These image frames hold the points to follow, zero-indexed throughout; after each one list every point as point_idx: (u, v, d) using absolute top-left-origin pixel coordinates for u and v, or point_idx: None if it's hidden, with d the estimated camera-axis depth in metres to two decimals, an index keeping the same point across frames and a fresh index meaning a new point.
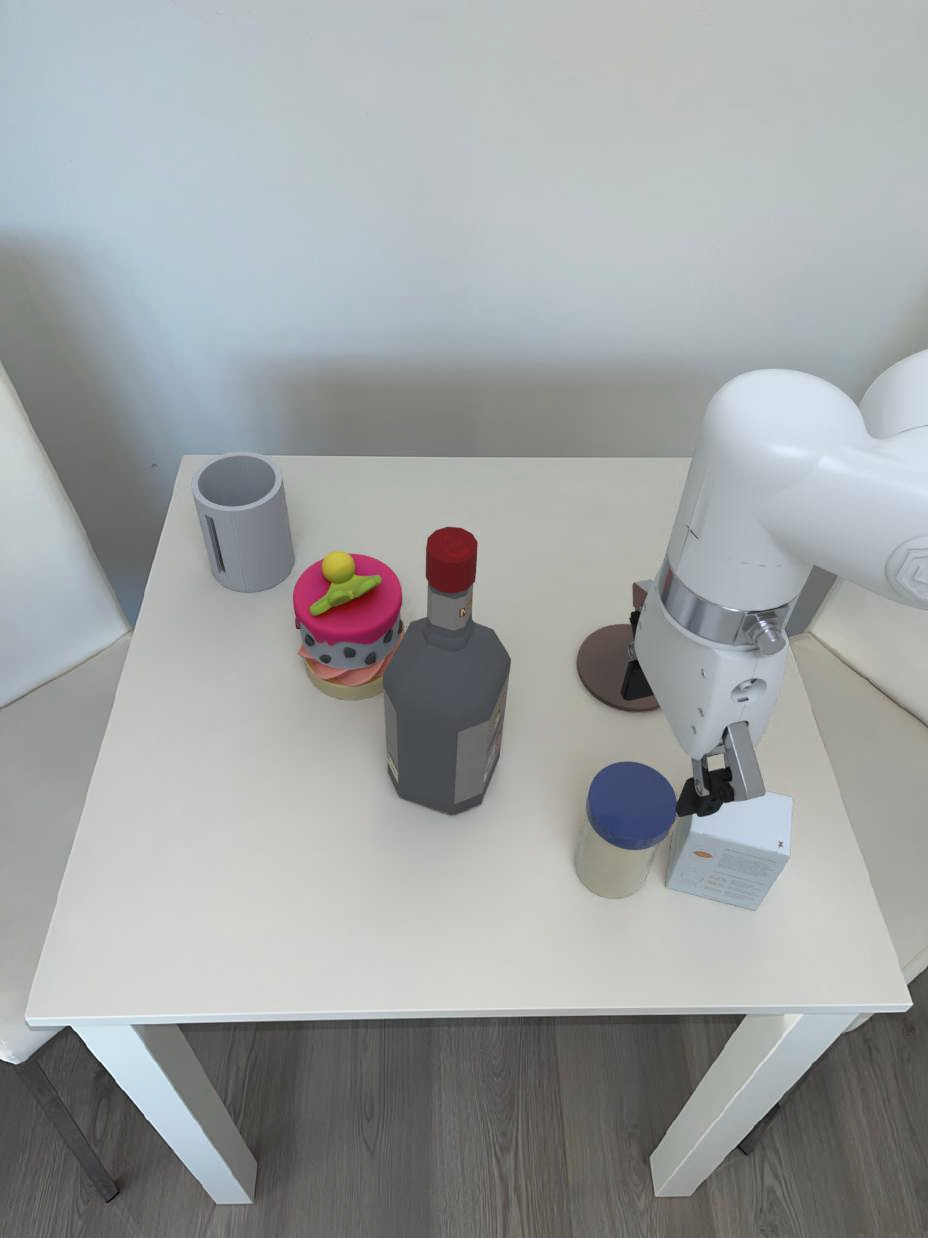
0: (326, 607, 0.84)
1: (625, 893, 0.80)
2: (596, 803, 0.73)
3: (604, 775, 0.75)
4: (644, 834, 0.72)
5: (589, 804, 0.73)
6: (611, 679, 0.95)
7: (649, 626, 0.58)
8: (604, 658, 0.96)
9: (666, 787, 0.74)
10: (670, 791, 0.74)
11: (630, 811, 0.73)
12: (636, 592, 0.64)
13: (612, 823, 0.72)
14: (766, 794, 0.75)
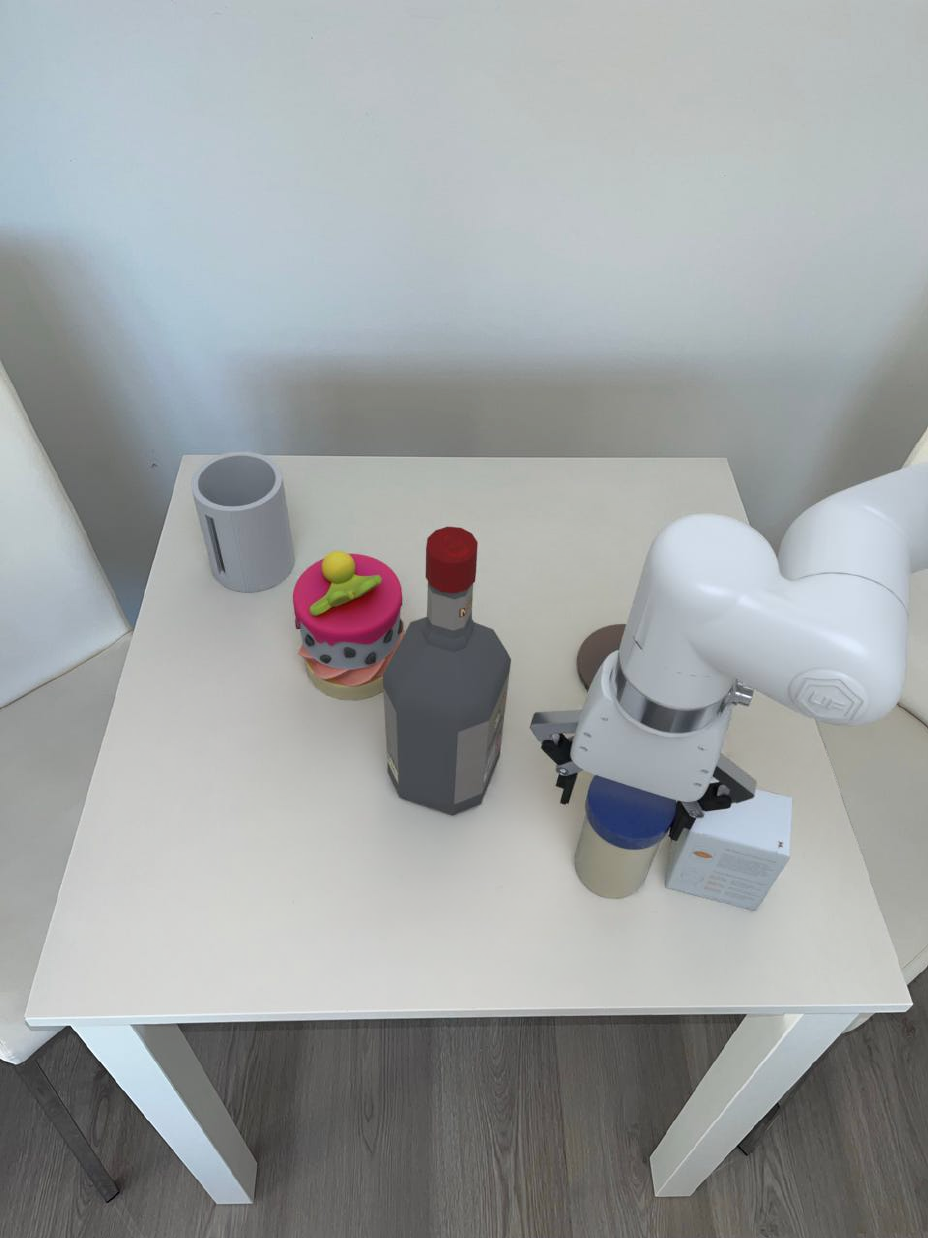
0: (326, 607, 0.84)
1: (625, 893, 0.80)
2: (595, 803, 0.73)
3: None
4: (643, 834, 0.72)
5: (588, 804, 0.73)
6: None
7: (604, 745, 0.65)
8: (604, 658, 0.96)
9: None
10: None
11: (629, 811, 0.73)
12: (538, 730, 0.70)
13: (611, 823, 0.72)
14: (766, 794, 0.75)
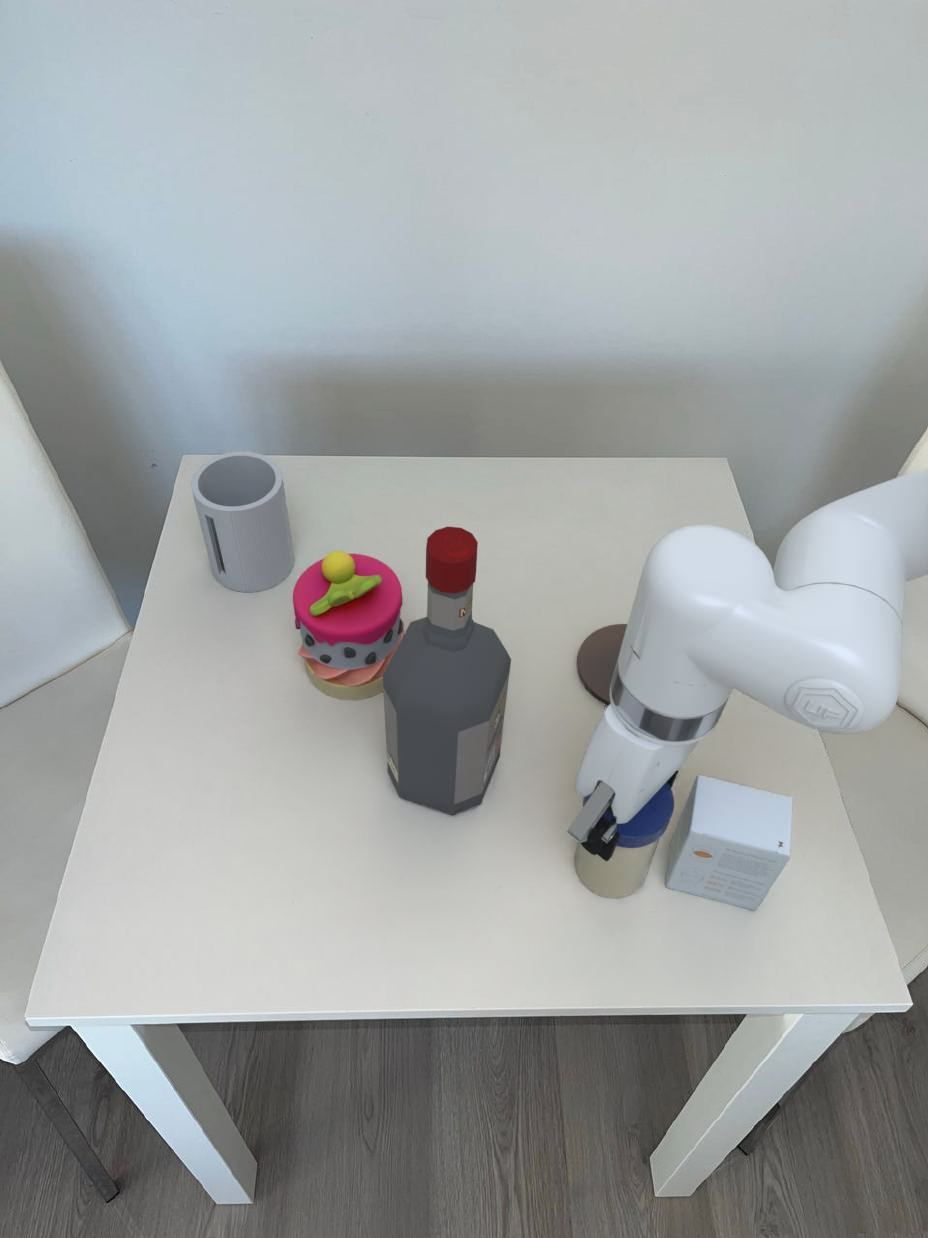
0: (326, 607, 0.84)
1: (625, 892, 0.79)
2: (623, 830, 0.71)
3: None
4: (668, 805, 0.73)
5: (620, 836, 0.71)
6: (611, 679, 0.95)
7: (653, 784, 0.65)
8: (604, 658, 0.96)
9: None
10: None
11: None
12: (586, 835, 0.66)
13: (648, 826, 0.72)
14: (766, 794, 0.75)
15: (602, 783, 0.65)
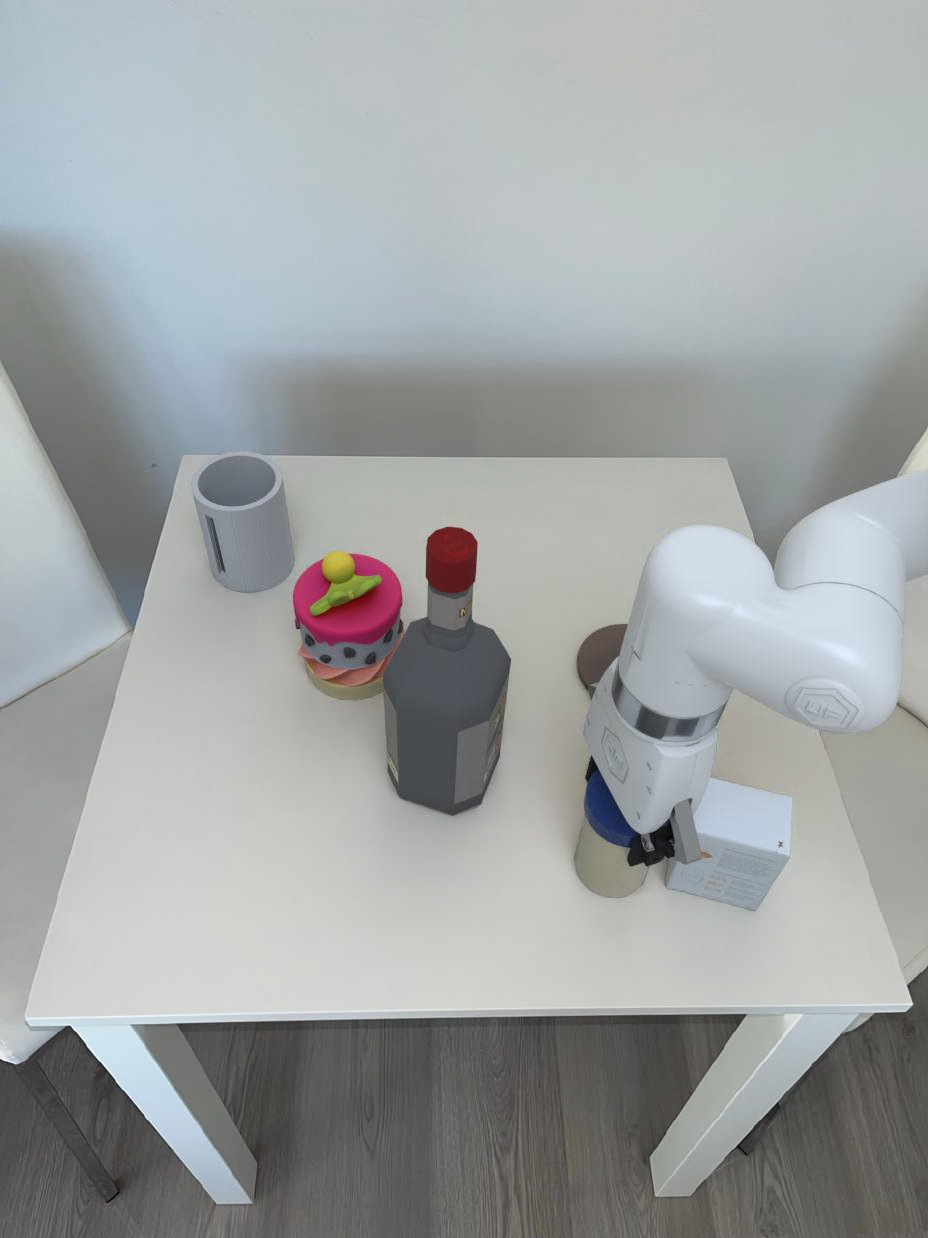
0: (326, 607, 0.84)
1: (625, 892, 0.80)
2: None
3: (630, 831, 0.71)
4: None
5: None
6: None
7: None
8: (604, 658, 0.96)
9: (595, 780, 0.74)
10: (595, 775, 0.74)
11: None
12: None
13: None
14: (766, 794, 0.75)
15: (675, 804, 0.64)
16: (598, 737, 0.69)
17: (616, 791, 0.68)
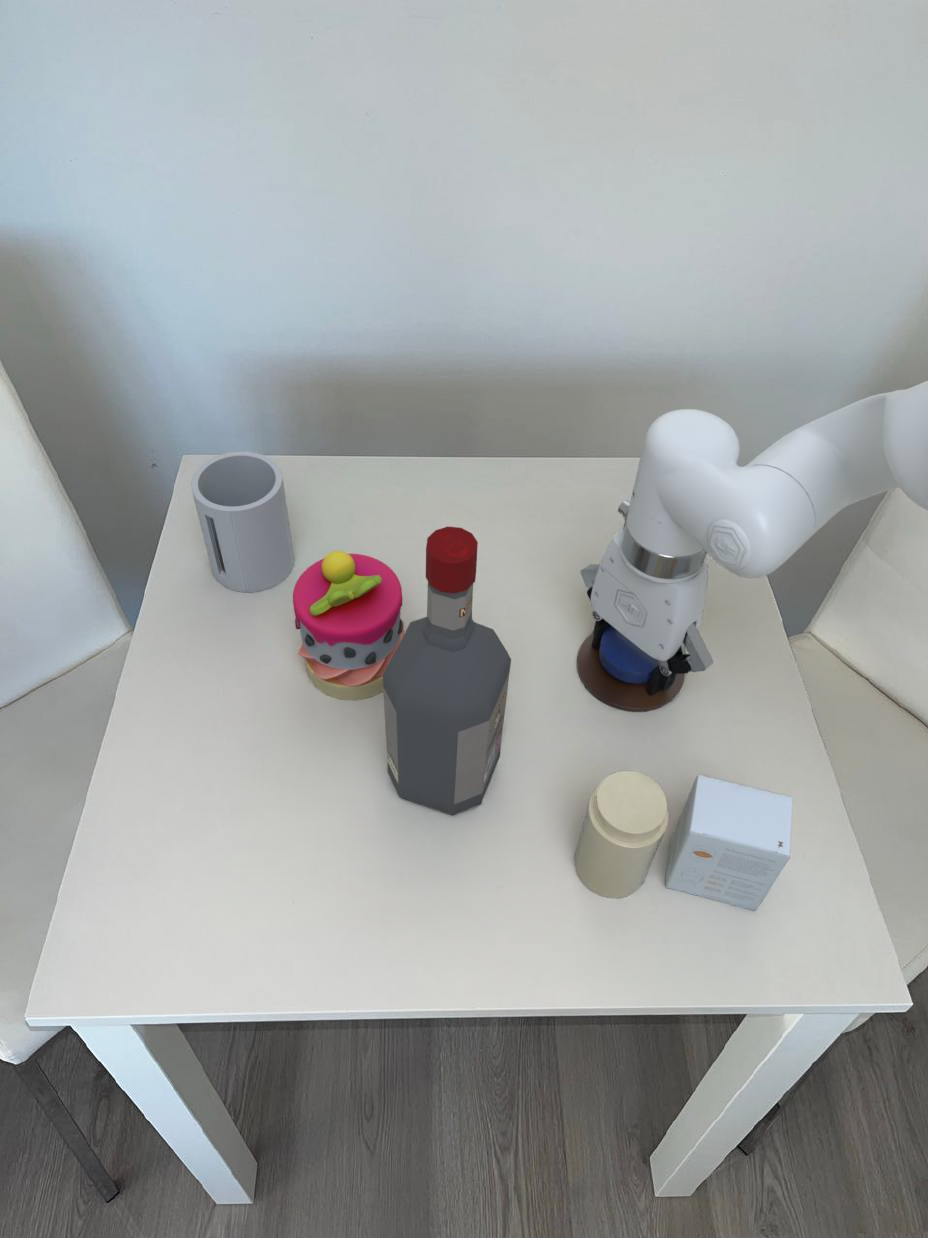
0: (326, 607, 0.84)
1: (625, 892, 0.80)
2: None
3: (646, 667, 0.92)
4: None
5: None
6: (611, 679, 0.95)
7: None
8: None
9: (605, 641, 0.94)
10: (604, 638, 0.94)
11: None
12: None
13: None
14: (766, 794, 0.75)
15: (686, 628, 0.85)
16: (610, 601, 0.88)
17: (636, 636, 0.88)
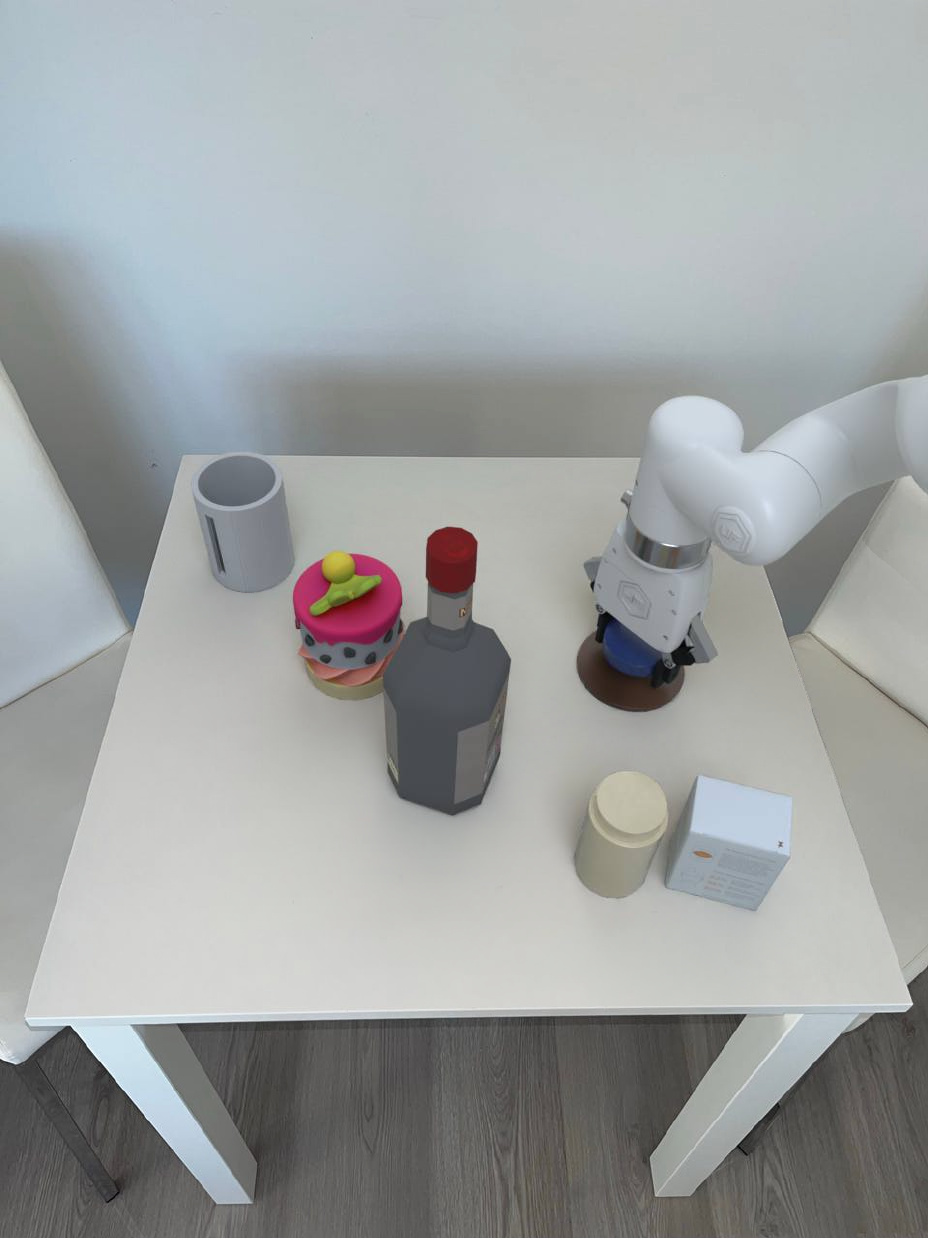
0: (326, 607, 0.84)
1: (625, 892, 0.80)
2: None
3: (650, 660, 0.91)
4: None
5: None
6: (611, 679, 0.95)
7: None
8: (604, 658, 0.96)
9: (608, 634, 0.93)
10: (607, 631, 0.93)
11: None
12: None
13: None
14: (766, 794, 0.75)
15: (690, 619, 0.84)
16: (613, 593, 0.87)
17: (639, 628, 0.87)
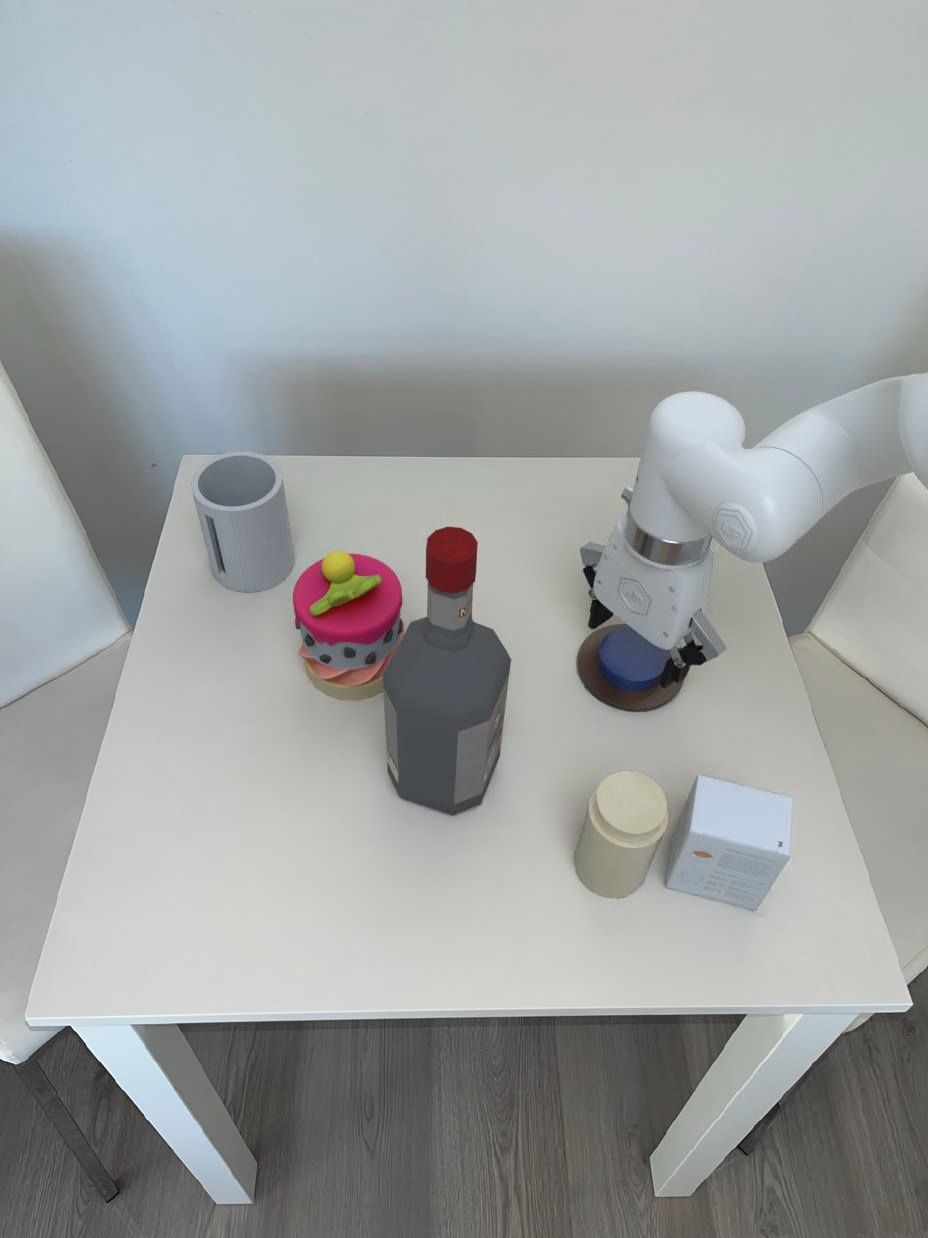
0: (326, 607, 0.84)
1: (625, 892, 0.80)
2: (662, 662, 0.94)
3: (644, 676, 0.93)
4: None
5: None
6: None
7: None
8: None
9: (604, 649, 0.95)
10: (602, 646, 0.95)
11: (640, 647, 0.95)
12: None
13: None
14: (766, 794, 0.75)
15: None
16: (613, 590, 0.87)
17: (639, 625, 0.87)
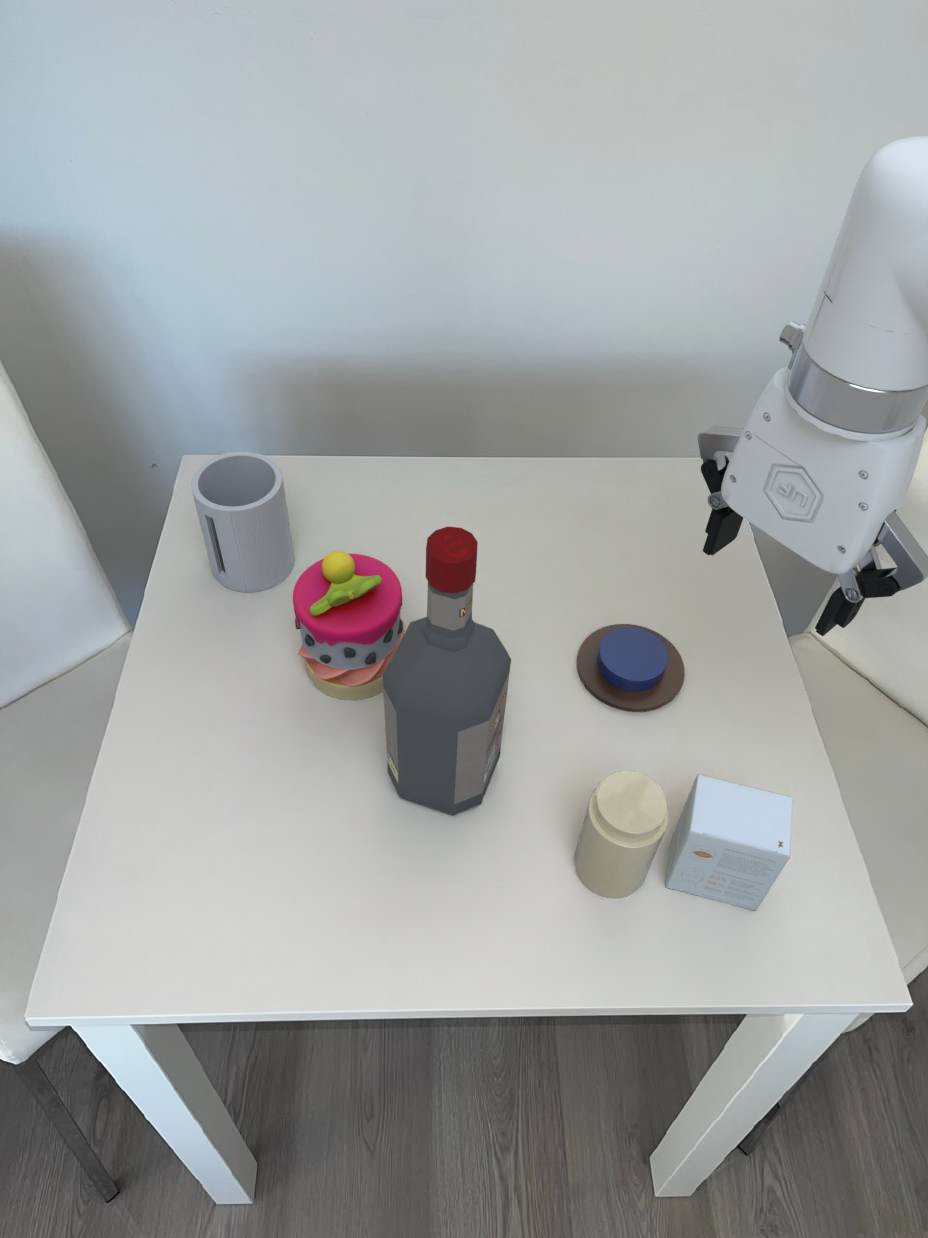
0: (326, 607, 0.84)
1: (625, 892, 0.80)
2: (662, 662, 0.94)
3: (644, 676, 0.93)
4: (640, 631, 0.97)
5: None
6: None
7: None
8: None
9: (604, 649, 0.95)
10: (602, 646, 0.95)
11: (640, 647, 0.95)
12: None
13: (658, 646, 0.95)
14: (766, 794, 0.75)
15: None
16: (757, 486, 0.59)
17: (797, 538, 0.58)
